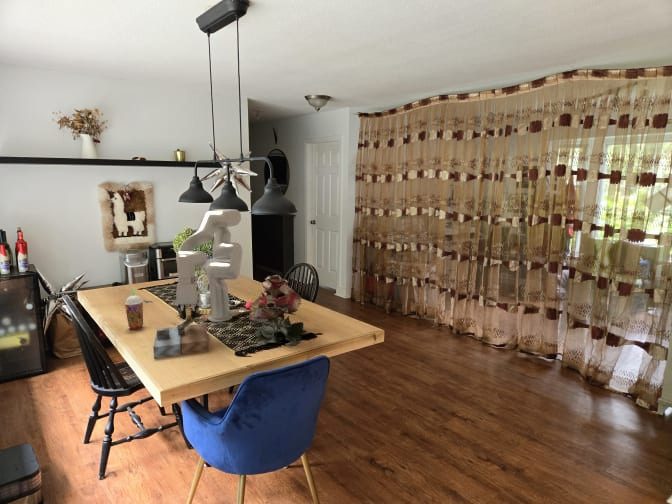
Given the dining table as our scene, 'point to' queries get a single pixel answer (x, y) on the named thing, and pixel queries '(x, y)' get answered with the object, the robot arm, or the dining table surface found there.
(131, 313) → the smoothie
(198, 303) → the mineral specimen
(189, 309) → the switch lever
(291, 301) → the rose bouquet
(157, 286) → the dining table surface
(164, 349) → the lever switch panel
